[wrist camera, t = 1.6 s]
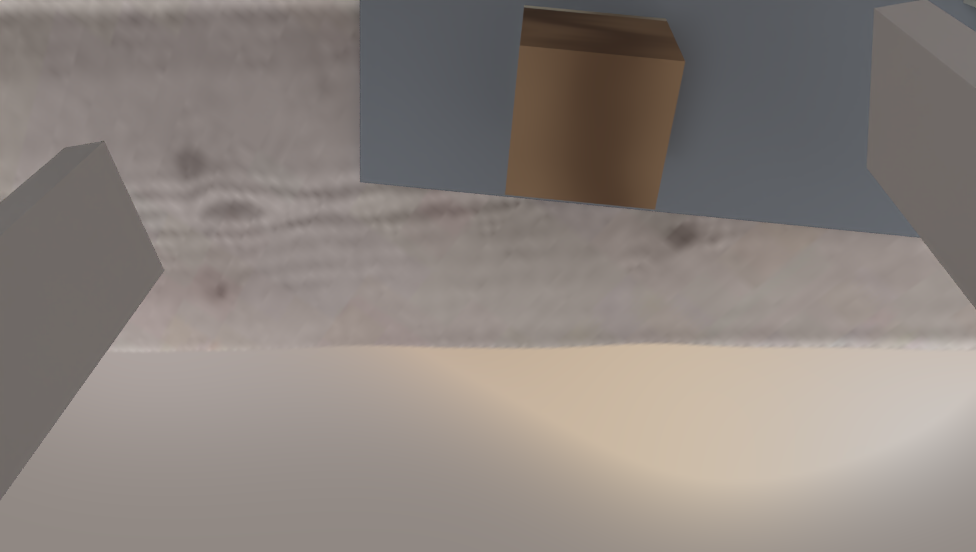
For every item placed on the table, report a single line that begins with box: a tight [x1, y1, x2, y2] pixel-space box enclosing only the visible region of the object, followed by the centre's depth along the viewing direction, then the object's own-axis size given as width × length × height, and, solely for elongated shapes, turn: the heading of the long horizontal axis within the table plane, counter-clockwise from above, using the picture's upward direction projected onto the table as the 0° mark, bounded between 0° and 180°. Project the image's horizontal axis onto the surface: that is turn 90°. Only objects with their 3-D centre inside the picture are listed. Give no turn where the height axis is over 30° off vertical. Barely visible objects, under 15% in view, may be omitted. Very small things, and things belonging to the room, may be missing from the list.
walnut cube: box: [505, 5, 685, 210], centre depth 34 cm, size 6×6×6 cm
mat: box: [360, 0, 976, 238], centre depth 37 cm, size 32×12×1 cm, turn 86°
